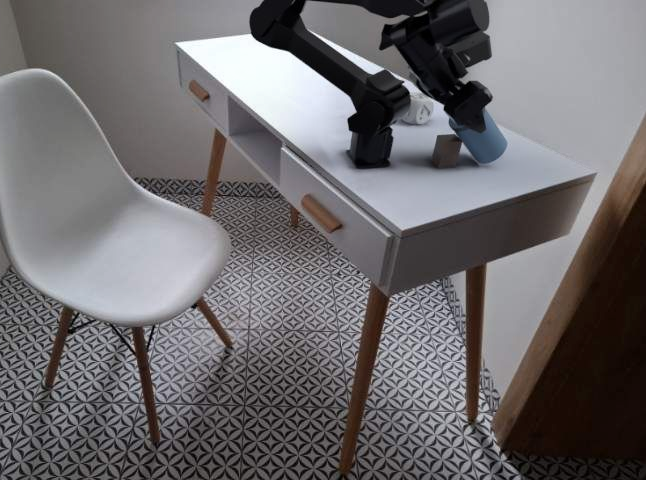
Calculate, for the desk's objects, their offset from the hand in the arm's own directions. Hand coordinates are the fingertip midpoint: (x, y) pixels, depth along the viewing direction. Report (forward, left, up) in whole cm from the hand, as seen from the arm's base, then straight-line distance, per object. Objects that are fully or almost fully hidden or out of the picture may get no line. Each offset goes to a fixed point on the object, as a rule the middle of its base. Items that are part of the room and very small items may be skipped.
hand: (470, 119), depth 88 cm
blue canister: (+2, 0, -8) cm, 9 cm away
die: (0, +20, -8) cm, 21 cm away
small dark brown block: (-3, 0, -8) cm, 9 cm away
